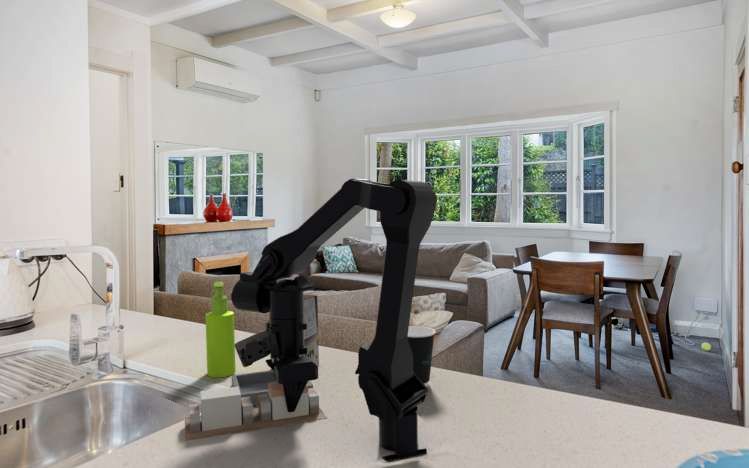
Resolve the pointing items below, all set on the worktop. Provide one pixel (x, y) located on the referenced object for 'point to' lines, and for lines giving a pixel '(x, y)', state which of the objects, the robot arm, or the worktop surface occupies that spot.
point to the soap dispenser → (220, 336)
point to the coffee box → (311, 327)
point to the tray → (255, 384)
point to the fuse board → (251, 417)
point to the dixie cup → (421, 350)
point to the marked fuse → (279, 402)
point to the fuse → (220, 408)
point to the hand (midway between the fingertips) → (288, 407)
